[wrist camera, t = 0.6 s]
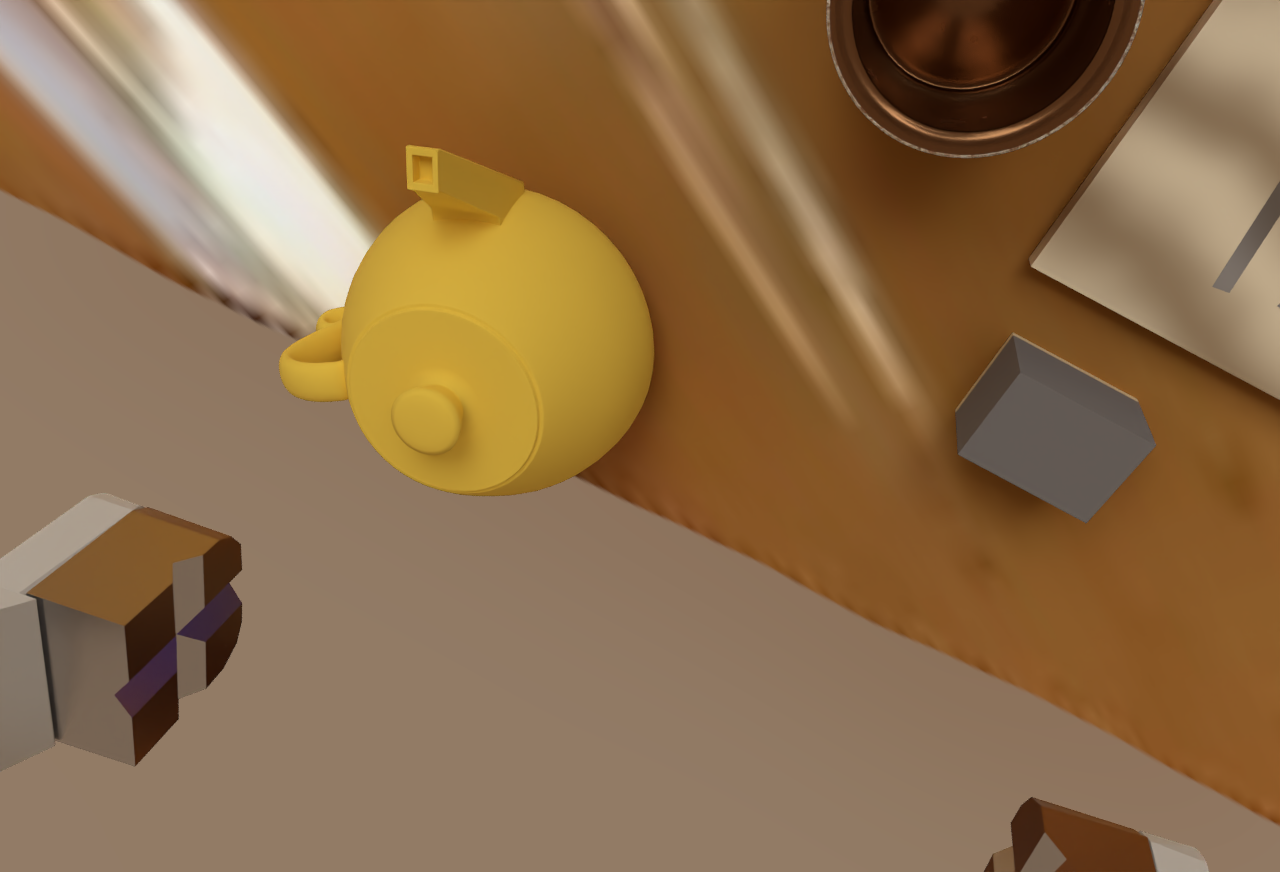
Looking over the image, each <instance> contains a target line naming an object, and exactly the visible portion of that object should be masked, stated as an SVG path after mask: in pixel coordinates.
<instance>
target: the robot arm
mask: <svg viewBox="0 0 1280 872" xmlns="http://www.w3.org/2000/svg"><path fill="white" fill-rule="evenodd" d="M241 570H242V559H241V544H240V543H239V542H238V541H236V540H235V539H234V538H232V537H231V536H228V535H226V534H223V533H220V532H217V531H214V530H212V529H209V528H206V527H203V526H200V525H197V524H195V523H192V522H189V521H186V520H183V519H180V518H178V517H175V516H172V515H169V514H166V513H163V512H161V511H158V510H155V509H152V508H149V507H147V508H145V507H143V506H140V505H137V504H134V503H132V502H129V501H126V500H123V499H121V498H118V497H115V496H112V495H110V494H107V493H102V494H96V495H90V496H88V497H86V498H85V499H83V500H82V501H81V502H79V503H78V504H76V505H75V506H74V507H72V508H71V509H69V510H68V511H67V512H65V513H64V514H62V515H61V516H60V517H58V518H57V519H55V520H54V521H53V522H51V523H50V524H48V525H47V526H45V527H44V528H43V529H41V530H40V531H38V532H37V533H36V534H34V535H33V536H31V537H30V538H29V539H27V540H26V541H24V542H23V543H22V544H20V545H19V546H18V547H16V548H14V549H13V550H12V551H10V552H9V553H7V554H6V555H5V556H3V557H2V558H0V772H1V771H3V770H5V769H7V768H9V767H11V766H13V765H15V764H18V763H20V762H22V761H24V760H26V759H28V758H30V757H32V756H34V755H36V754H39V753H41V752H43V751H45V750H47V749H49V748H51V747H53V746H55V741H58V742H62V743H65V744H67V745H71V746H74V747H77V748H80V749H83V750H86V751H89V752H92V753H95V754H99V755H101V756H104V757H107V758H111V759H114V760H117V761H120V762H123V763H126V764H129V765H132V766H136V765H137V764H138V763H139V762H140V761H141V760H142V759H143V757H144V756H145V755H146V754H147V753H148V752H149V751H150V750H151V749H152V748H153V747H154V745H155V744H156V743H157V742H158V741H159V740H160V739H161V738H162V737H163V736H164V735H165V733H166V732H167V731H168V730H169V729H170V728H171V727H172V726H173V725H174V723H176V721H177V720H178V719H179V714H178V713H179V705H178V704H179V699H180V698H182V697H185V696H188V695H190V694H193V693H196V692H198V691H201V690H204V689H206V688H207V687H208V686H209V685H210V684H211V682H212V681H213V680H214V679H215V678H216V677H217V676H218V674H219V673H220V672H221V671H222V670H223V668H224V666H225V665H226V663H227V661H228V659H229V657H230V655H231V653H232V651H233V649H234V647H235V645H236V644H237V640H238V636H239V632H240V627H241V623H242V602H241V601H240V600H239V598H238V596H237V595H236V593H235V591H234V590H233V588H232V587H231V585H230V583H229V582H230V581H231V580H232V579H233V578H234V577H235V576H236V575H237V574H238V573H239V572H240V571H241ZM1011 832H1012V843H1013V846H1011V847H1009V848H1006V849H1004V850H1001V851H999V852H996V853H994V854H993V855H992V857H991V859H990V861H989V863H988V865H987V866H986V868H985V870H984V872H1209V870H1208V867H1207V863H1206V860H1205V858H1204V857H1203V856H1202V854H1201V853H1200V852H1199V851H1198V850H1197V849H1196V848H1194V847H1191V846H1188V845H1185V844H1181V843H1178V842H1175V841H1171V840H1169V839H1165V838H1162V837H1159V836H1155V835H1152V834H1149V833H1146V832H1143V831H1139V832H1137V831H1135V830H1134V829H1131V828H1127V827H1125V826H1122V825H1118V824H1115V823H1112V822H1109V821H1106V820H1103V819H1099V818H1096V817H1093V816H1090V815H1087V814H1083V813H1081V812H1077V811H1074V810H1071V809H1068V808H1065V807H1062V806H1059V805H1055V804H1052V803H1049V802H1046V801H1042V800H1039V799H1036V798H1033V797H1031V798H1029V799H1028V800H1027V801H1026V802H1025V803H1023V804H1022V805H1021V807H1020V808H1019V810H1018V811H1017V813H1016V815H1015V817H1014V818H1013V820H1012V822H1011Z"/></svg>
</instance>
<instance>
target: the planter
mask: <svg viewBox="0 0 1280 872" xmlns="http://www.w3.org/2000/svg"><path fill="white" fill-rule="evenodd" d="M1144 3H1145V0H827V7H826V21H827V34H828V40H829V46H830V51H831V55H832V58H833V62H834V65H835V68H836V70H837V73H838V75H839V78H840V80H841V82H842V84H843V86H844V88H845V89H846V91H847V93H848V94H849V96H850V98H851V99H852V100H853V102H854V103H855V105H856V106H857V107H858V108H859V110H860V111H861V112H862V113H863V114H864V115H865V116H866V117H867V118H868V119H869V120H870V121H871V122H872V123H873V124H874V125H875V126H876V127H878V128H879V129H880V130H881V131H883V132H884V133H886V134H887V135H888V136H890V137H892V138H893V139H895V140H897V141H898V142H900V143H902V144H905V145H907V146H909V147H911V148H914V149H916V150H919V151H922V152H926V153H929V154H933V155H938V156H944V157H952V158H979V157H989V156H994V155H1000V154H1004V153H1008V152H1012V151H1015V150H1018V149H1021V148H1024V147H1026V146H1028V145H1031V144H1033V143H1036V142H1038V141H1040V140H1042V139H1044V138H1046V137H1047V136H1049V135H1051V134H1053V133H1054V132H1056V131H1058V130H1059V129H1061V128H1062V127H1064V126H1065V125H1066V124H1068V123H1069V122H1070V121H1072V120H1073V119H1074V118H1076V117H1077V116H1078V115H1079V114H1080V113H1081V112H1083V111H1084V110H1085V109H1086V108H1087V107H1088V106H1089V105H1090V104H1091V103H1092V102H1093V101H1094V100H1095V99H1096V98H1097V97H1098V96H1099V95H1100V93H1101V92H1102V91H1103V90H1104V89H1105V87H1106V86H1107V85H1108V83H1109V82H1110V81H1111V79H1112V78H1113V77H1114V75H1115V74H1116V72H1117V71H1118V69H1119V67H1120V66H1121V64H1122V62H1123V60H1124V59H1125V57H1126V55H1127V53H1128V51H1129V49H1130V47H1131V44H1132V42H1133V40H1134V37H1135V35H1136V32H1137V29H1138V26H1139V23H1140V20H1141V16H1142V12H1143V7H1144Z"/></svg>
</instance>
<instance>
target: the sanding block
mask: <svg viewBox="0 0 1280 872" xmlns="http://www.w3.org/2000/svg"><path fill="white" fill-rule="evenodd" d="M955 414H956V432H957V450H958V455H960V456H962V457H964V458H965V459H967V460H969V461H971V462H973V463H975V464H977V465H978V466H980V467H982V468H984V469H986V470H988V471H990V472H992V473H993V474H995V475H997V476H999V477H1001V478H1003V479H1005V480H1006V481H1008V482H1010V483H1012V484H1014V485H1016V486H1018V487H1020V488H1021V489H1023V490H1025V491H1027V492H1029V493H1031V494H1033V495H1034V496H1036V497H1038V498H1040V499H1042V500H1044V501H1046V502H1048V503H1049V504H1051V505H1053V506H1055V507H1057V508H1059V509H1061V510H1062V511H1064V512H1066V513H1068V514H1070V515H1072V516H1074V517H1075V518H1077V519H1079V520H1081V521H1083V522H1085V523H1087V522H1088V521H1089V520H1090V519H1091V518H1092V516H1093V515H1094V514H1095V513H1096V512H1097V511H1098V510H1099V509H1100V508H1101V506H1102V505H1103V504H1104V503H1105V502H1106V501H1107V500H1108V499H1109V497H1110V496H1111V495H1112V494H1113V493H1114V492H1115V491H1116V490H1117V489H1118V487H1119V486H1120V485H1121V484H1122V483H1123V482H1124V481H1125V480H1126V478H1127V477H1128V476H1129V475H1130V474H1131V473H1132V472H1133V471H1134V470H1135V468H1136V467H1137V466H1138V465H1139V464H1140V463H1141V462H1142V461H1143V459H1144V458H1145V457H1146V456H1147V455H1148V454H1149V453H1150V452H1151V451H1152V449H1153V448H1154V447H1155V446H1156V444H1155V441H1154V439H1153V436H1152V434H1151V431H1150V429H1149V427H1148V424H1147V422H1146V419H1145V417H1144V414H1143V412H1142V410H1141V407H1140V405H1139V402H1138V400H1137V399H1136V398H1134V397H1132V396H1130V395H1128V394H1127V393H1125V392H1123V391H1121V390H1119V389H1117V388H1115V387H1114V386H1112V385H1110V384H1108V383H1106V382H1104V381H1102V380H1101V379H1099V378H1097V377H1095V376H1093V375H1091V374H1089V373H1088V372H1086V371H1084V370H1082V369H1080V368H1078V367H1076V366H1075V365H1073V364H1071V363H1069V362H1067V361H1065V360H1063V359H1062V358H1060V357H1058V356H1056V355H1054V354H1052V353H1050V352H1048V351H1047V350H1045V349H1043V348H1041V347H1039V346H1037V345H1035V344H1034V343H1032V342H1030V341H1028V340H1026V339H1024V338H1022V337H1021V336H1019V335H1017V334H1015V333H1013V332H1012V334H1011V335H1010V336H1009V338H1008V339H1007V341H1006V342H1005V343H1004V345H1003V346H1002V347H1001V349H1000V350H999V351H998V353H997V354H996V355H995V357H994V358H993V359H992V361H991V362H990V363H989V365H988V366H987V368H986V369H985V370H984V372H983V373H982V374H981V376H980V377H979V378H978V380H977V381H976V382H975V384H974V385H973V386H972V388H971V389H970V390H969V392H968V393H967V394H966V396H965V397H964V399H963V400H962V401H961V403H960V404H959V405H958V407H957V408H956V409H955Z"/></svg>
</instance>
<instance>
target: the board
mask: <svg viewBox="0 0 1280 872" xmlns="http://www.w3.org/2000/svg"><path fill="white" fill-rule="evenodd" d="M1029 262H1030V266H1031V267H1033V268H1034V269H1036V270H1038V271H1040V272H1042V273H1044V274H1046V275H1047V276H1049V277H1051V278H1053V279H1055V280H1057V281H1059V282H1061V283H1062V284H1064V285H1066V286H1068V287H1070V288H1072V289H1074V290H1075V291H1077V292H1079V293H1081V294H1083V295H1085V296H1087V297H1088V298H1090V299H1092V300H1094V301H1096V302H1098V303H1100V304H1102V305H1103V306H1105V307H1107V308H1109V309H1111V310H1113V311H1115V312H1116V313H1118V314H1120V315H1122V316H1124V317H1126V318H1128V319H1130V320H1131V321H1133V322H1135V323H1137V324H1139V325H1141V326H1143V327H1144V328H1146V329H1148V330H1150V331H1152V332H1154V333H1156V334H1158V335H1159V336H1161V337H1163V338H1165V339H1167V340H1169V341H1171V342H1172V343H1174V344H1176V345H1178V346H1180V347H1182V348H1184V349H1186V350H1187V351H1189V352H1191V353H1193V354H1195V355H1197V356H1199V357H1200V358H1202V359H1204V360H1206V361H1208V362H1210V363H1212V364H1213V365H1215V366H1217V367H1219V368H1221V369H1223V370H1225V371H1227V372H1228V373H1230V374H1232V375H1234V376H1236V377H1238V378H1240V379H1241V380H1243V381H1245V382H1247V383H1249V384H1251V385H1253V386H1255V387H1256V388H1258V389H1260V390H1262V391H1264V392H1266V393H1268V394H1269V395H1271V396H1273V397H1275V398H1277V399H1279V400H1280V0H1213V1H1212V3H1211V4H1210V6H1209V7H1208V8H1207V10H1206V11H1205V13H1204V14H1203V15H1202V17H1201V18H1200V20H1199V21H1198V22H1197V24H1196V25H1195V27H1194V28H1193V29H1192V31H1191V32H1190V34H1189V35H1188V36H1187V38H1186V39H1185V41H1184V42H1183V43H1182V45H1181V46H1180V48H1179V49H1178V50H1177V52H1176V53H1175V55H1174V56H1173V57H1172V59H1171V60H1170V62H1169V63H1168V64H1167V66H1166V67H1165V69H1164V70H1163V71H1162V73H1161V74H1160V76H1159V77H1158V78H1157V80H1156V81H1155V83H1154V84H1153V85H1152V87H1151V88H1150V90H1149V91H1148V92H1147V94H1146V95H1145V97H1144V98H1143V99H1142V101H1141V102H1140V104H1139V105H1138V106H1137V108H1136V109H1135V110H1134V112H1133V113H1132V115H1131V116H1130V117H1129V119H1128V120H1127V122H1126V123H1125V124H1124V126H1123V127H1122V129H1121V130H1120V131H1119V133H1118V134H1117V136H1116V137H1115V138H1114V140H1113V141H1112V143H1111V144H1110V145H1109V147H1108V148H1107V150H1106V151H1105V152H1104V154H1103V155H1102V157H1101V158H1100V159H1099V161H1098V162H1097V164H1096V165H1095V166H1094V168H1093V169H1092V171H1091V172H1090V173H1089V175H1088V176H1087V178H1086V179H1085V180H1084V182H1083V183H1082V185H1081V186H1080V187H1079V189H1078V190H1077V192H1076V193H1075V194H1074V196H1073V197H1072V199H1071V200H1070V201H1069V203H1068V204H1067V206H1066V207H1065V208H1064V210H1063V211H1062V213H1061V214H1060V215H1059V217H1058V218H1057V220H1056V221H1055V222H1054V224H1053V225H1052V226H1051V228H1050V229H1049V231H1048V232H1047V233H1046V235H1045V236H1044V238H1043V239H1042V240H1041V242H1040V243H1039V245H1038V246H1037V247H1036V249H1035V250H1034V252H1033V253H1032V254H1031V256H1030V257H1029Z"/></svg>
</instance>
